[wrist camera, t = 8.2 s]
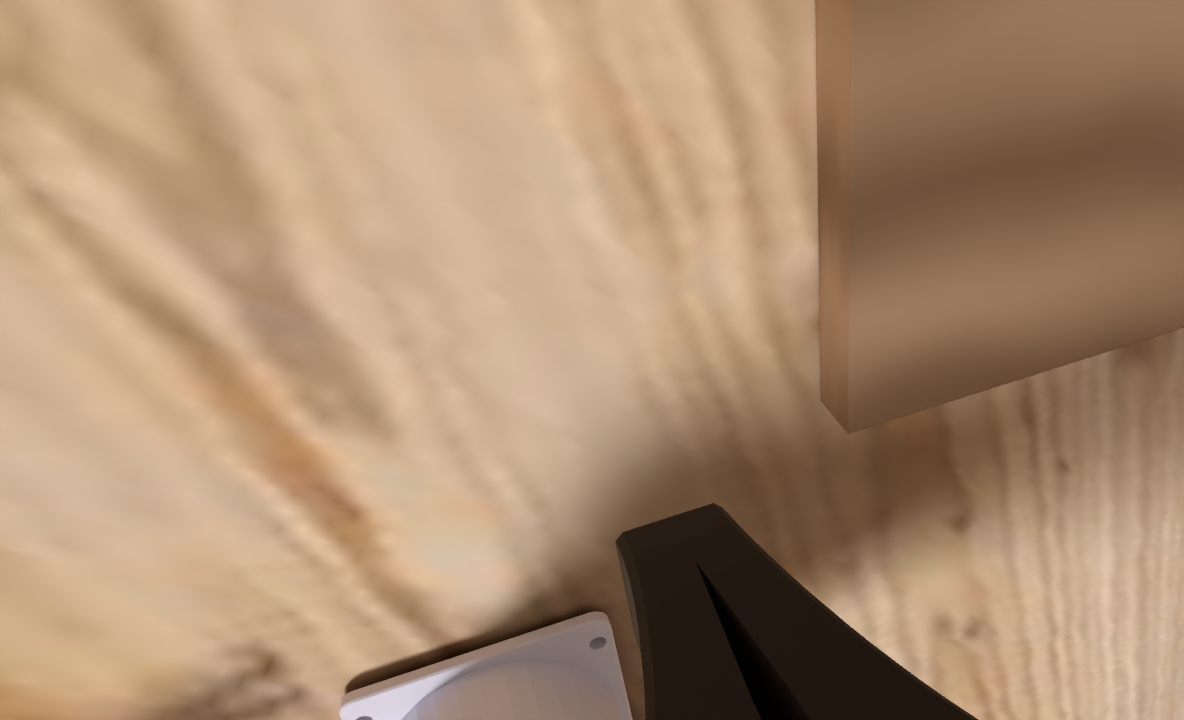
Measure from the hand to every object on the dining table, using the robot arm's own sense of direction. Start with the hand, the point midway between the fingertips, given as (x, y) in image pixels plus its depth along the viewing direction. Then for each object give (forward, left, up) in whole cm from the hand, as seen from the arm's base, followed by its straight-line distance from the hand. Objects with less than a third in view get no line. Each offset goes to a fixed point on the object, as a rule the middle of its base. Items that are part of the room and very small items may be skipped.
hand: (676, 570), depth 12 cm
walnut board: (-2, -12, -10) cm, 16 cm away
